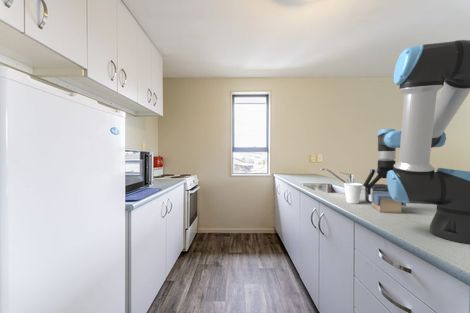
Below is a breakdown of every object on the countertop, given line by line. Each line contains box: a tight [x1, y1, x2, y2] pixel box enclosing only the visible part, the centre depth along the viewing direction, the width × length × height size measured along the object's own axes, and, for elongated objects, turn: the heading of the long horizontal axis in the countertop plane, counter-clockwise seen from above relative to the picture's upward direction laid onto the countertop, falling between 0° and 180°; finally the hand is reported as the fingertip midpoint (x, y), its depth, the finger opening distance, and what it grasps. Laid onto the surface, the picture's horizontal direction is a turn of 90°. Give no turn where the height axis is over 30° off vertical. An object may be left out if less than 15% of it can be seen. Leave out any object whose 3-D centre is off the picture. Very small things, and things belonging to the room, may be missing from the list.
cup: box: [342, 182, 363, 205], centre depth 130 cm, size 10×10×11 cm
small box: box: [364, 183, 389, 204], centre depth 133 cm, size 11×6×10 cm, turn 84°
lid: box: [368, 191, 407, 207], centre depth 115 cm, size 14×12×5 cm
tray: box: [371, 198, 403, 214], centre depth 115 cm, size 12×9×7 cm
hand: (385, 201), depth 115 cm, fingers open, 13 cm apart
